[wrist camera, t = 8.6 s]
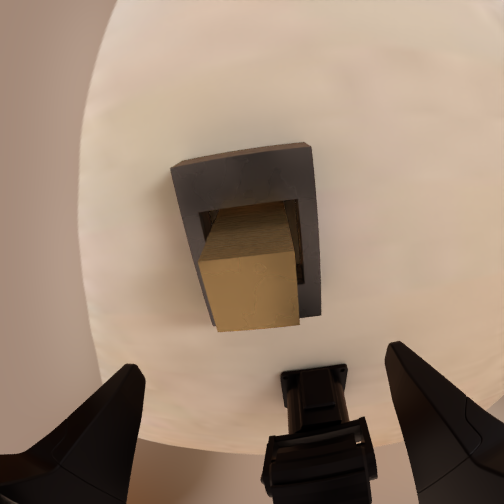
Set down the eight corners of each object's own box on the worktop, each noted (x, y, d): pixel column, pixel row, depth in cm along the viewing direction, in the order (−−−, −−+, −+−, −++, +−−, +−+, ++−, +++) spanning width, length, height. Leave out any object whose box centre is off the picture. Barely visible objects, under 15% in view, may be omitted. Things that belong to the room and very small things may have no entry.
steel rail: (315, 293, 21) (321, 315, 18) (217, 304, 21) (213, 326, 19) (304, 142, 16) (311, 146, 13) (182, 160, 16) (170, 168, 14)
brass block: (288, 255, 19) (299, 324, 13) (231, 262, 20) (217, 332, 13) (282, 200, 17) (294, 250, 11) (220, 208, 18) (197, 262, 12)
